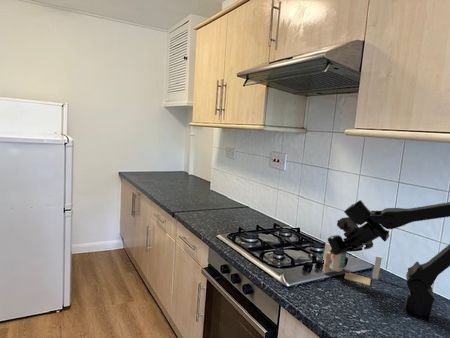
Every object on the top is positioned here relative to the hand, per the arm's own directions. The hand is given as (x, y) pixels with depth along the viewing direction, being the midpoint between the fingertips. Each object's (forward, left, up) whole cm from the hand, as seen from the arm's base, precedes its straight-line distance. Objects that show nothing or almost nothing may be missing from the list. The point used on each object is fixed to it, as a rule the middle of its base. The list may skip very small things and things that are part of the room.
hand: (335, 251), depth 118 cm
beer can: (-1, +1, -7) cm, 7 cm away
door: (0, -4, -10) cm, 11 cm away
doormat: (-9, -5, -10) cm, 15 cm away
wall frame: (-5, -10, -10) cm, 15 cm away
